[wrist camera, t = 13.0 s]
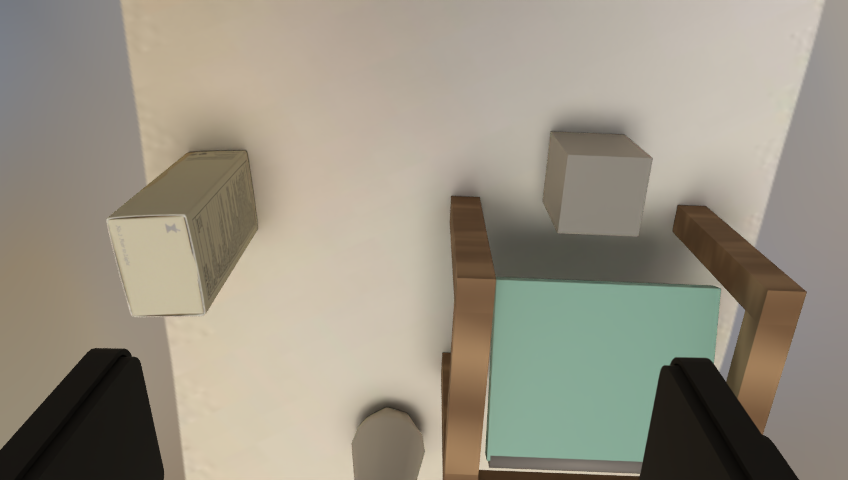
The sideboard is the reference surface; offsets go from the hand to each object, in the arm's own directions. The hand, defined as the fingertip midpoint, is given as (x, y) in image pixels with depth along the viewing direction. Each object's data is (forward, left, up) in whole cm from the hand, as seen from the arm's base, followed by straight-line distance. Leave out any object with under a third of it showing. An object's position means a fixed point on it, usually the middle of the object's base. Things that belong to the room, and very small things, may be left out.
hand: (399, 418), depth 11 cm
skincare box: (+7, -14, -33) cm, 37 cm away
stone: (+5, +11, -27) cm, 29 cm away
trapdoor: (+15, +11, -23) cm, 29 cm away
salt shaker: (+27, -2, -33) cm, 43 cm away
